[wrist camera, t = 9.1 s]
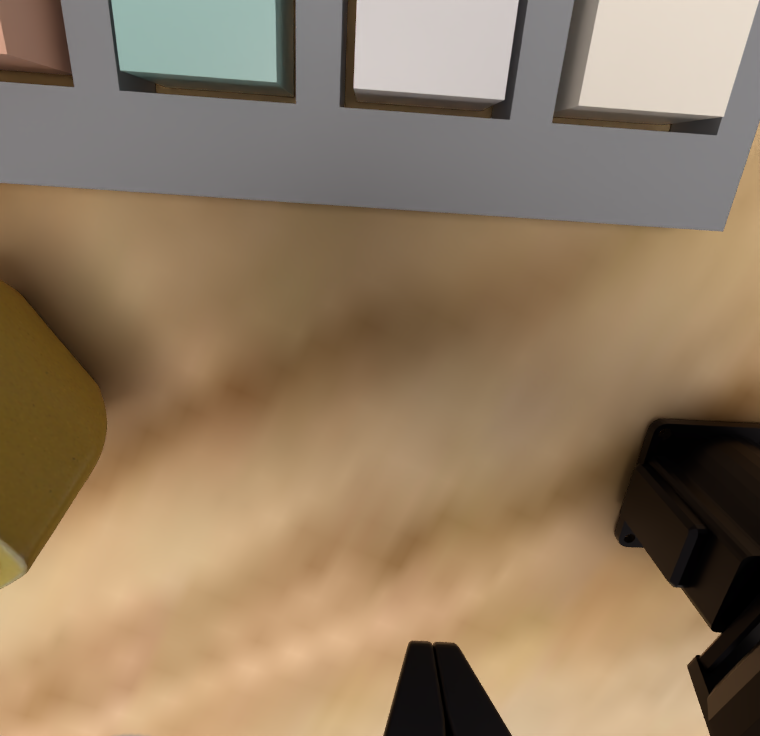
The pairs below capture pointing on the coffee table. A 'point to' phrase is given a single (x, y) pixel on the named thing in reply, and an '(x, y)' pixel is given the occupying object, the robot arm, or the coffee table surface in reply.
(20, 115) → the keyguard frame
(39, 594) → the coffee table surface
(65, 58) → the key
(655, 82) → the key
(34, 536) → the flower pot
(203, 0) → the key
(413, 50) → the key
